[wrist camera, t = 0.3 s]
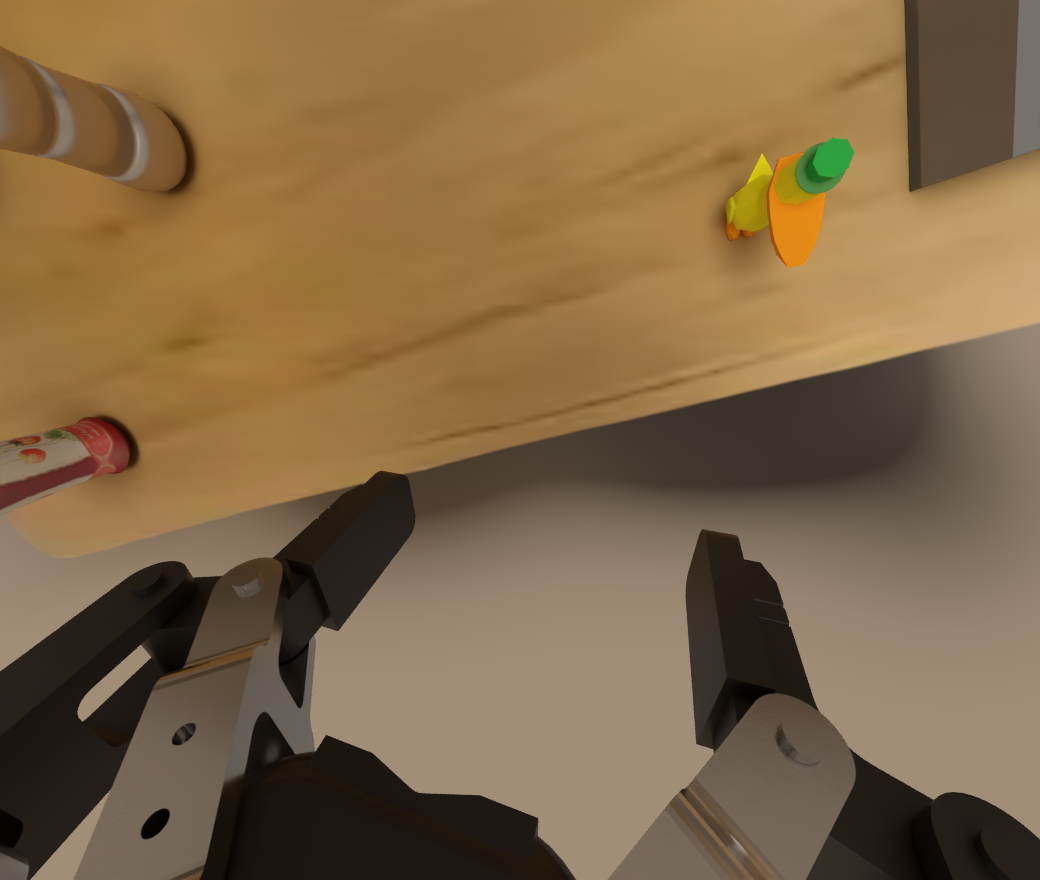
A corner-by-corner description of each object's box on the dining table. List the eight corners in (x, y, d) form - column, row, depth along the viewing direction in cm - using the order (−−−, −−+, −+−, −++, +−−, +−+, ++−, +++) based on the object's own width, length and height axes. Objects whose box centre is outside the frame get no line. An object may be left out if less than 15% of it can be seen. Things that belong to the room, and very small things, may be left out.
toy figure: (767, 268, 29) (874, 250, 18) (716, 280, 30) (789, 269, 19) (764, 166, 27) (882, 77, 16) (709, 181, 28) (786, 106, 17)
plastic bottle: (205, 129, 33) (-296, -90, 14) (194, 212, 35) (-245, 118, 17) (136, 90, 33) (-460, -181, 14) (129, 176, 35) (-383, 42, 17)
